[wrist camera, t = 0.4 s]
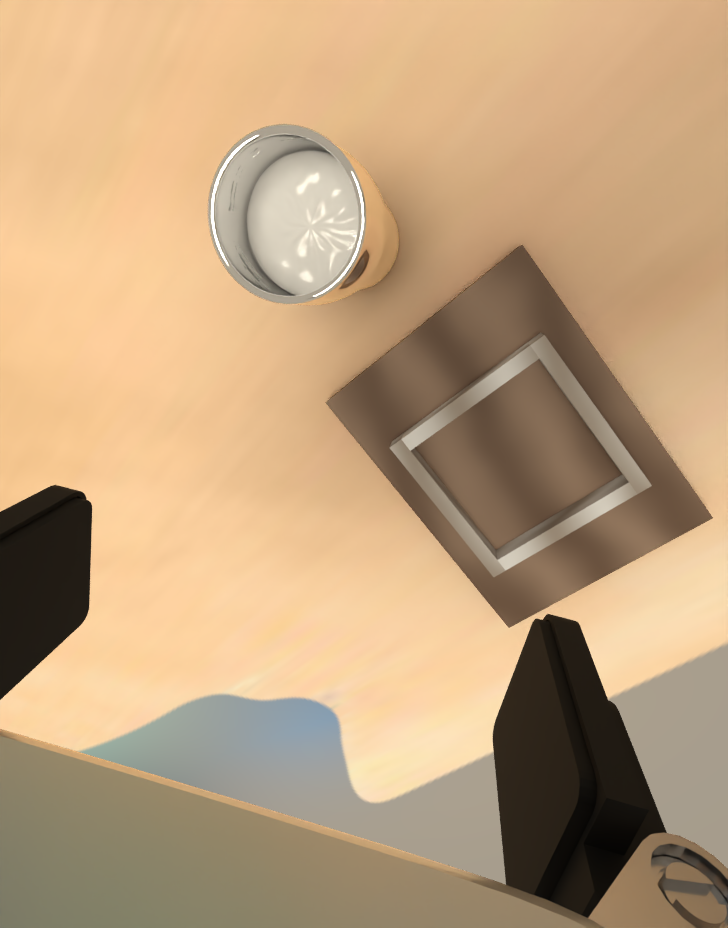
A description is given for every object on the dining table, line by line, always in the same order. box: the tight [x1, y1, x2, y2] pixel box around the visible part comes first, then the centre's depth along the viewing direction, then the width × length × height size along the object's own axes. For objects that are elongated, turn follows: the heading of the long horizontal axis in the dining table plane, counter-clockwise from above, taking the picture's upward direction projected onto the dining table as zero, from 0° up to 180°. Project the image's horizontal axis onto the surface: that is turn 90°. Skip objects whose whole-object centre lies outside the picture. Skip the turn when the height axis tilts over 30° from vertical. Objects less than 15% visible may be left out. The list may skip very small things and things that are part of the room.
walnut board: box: [326, 245, 713, 627], centre depth 37 cm, size 16×22×3 cm
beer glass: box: [208, 124, 399, 306], centre depth 28 cm, size 7×7×15 cm
